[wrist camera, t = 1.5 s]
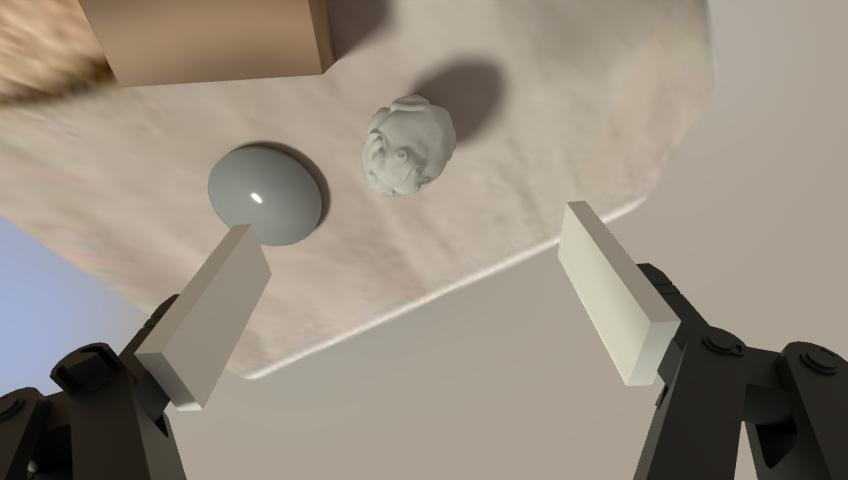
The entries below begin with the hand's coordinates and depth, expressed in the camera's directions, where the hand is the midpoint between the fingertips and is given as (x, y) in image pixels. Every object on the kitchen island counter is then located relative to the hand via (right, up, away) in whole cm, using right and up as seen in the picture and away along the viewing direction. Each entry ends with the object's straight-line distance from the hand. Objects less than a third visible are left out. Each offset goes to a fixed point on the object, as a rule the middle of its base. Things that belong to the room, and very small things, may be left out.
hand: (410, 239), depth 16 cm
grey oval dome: (-13, +4, +15) cm, 20 cm away
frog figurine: (0, +9, +13) cm, 15 cm away
